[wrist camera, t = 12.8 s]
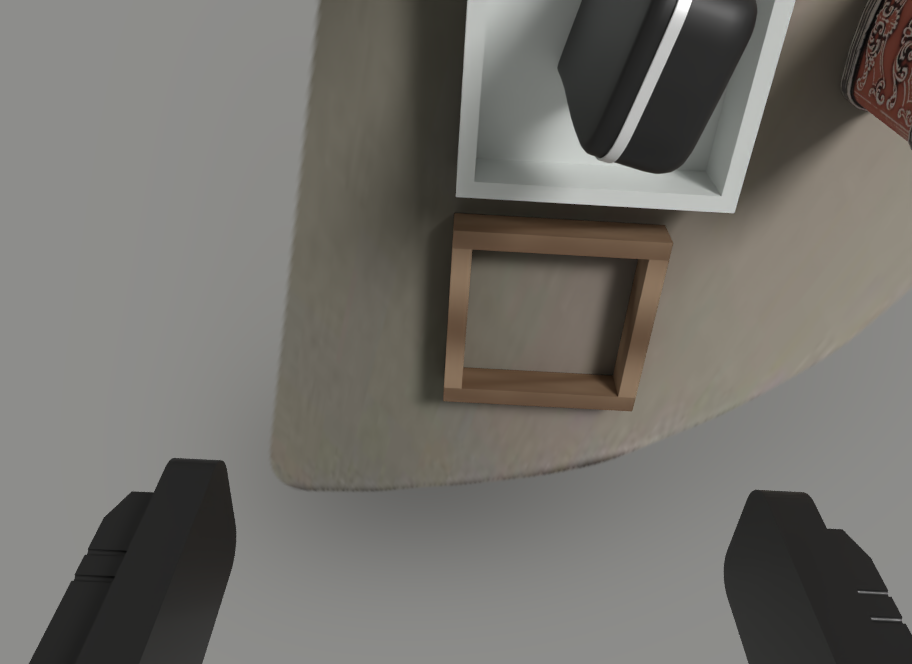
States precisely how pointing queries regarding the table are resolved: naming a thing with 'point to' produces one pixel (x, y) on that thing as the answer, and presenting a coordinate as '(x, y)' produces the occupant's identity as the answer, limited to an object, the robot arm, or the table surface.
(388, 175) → the table surface
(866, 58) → the lighter
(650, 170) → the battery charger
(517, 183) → the bin
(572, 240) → the brown flat square frame
